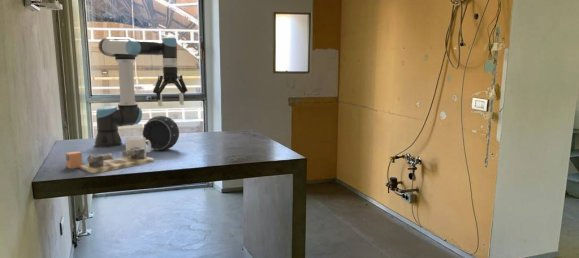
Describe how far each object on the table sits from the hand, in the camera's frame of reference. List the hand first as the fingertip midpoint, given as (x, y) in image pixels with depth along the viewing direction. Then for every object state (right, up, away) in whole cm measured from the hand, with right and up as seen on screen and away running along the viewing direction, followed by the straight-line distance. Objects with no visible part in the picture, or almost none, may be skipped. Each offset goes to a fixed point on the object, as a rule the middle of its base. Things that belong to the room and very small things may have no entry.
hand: (171, 105), depth 239 cm
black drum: (-9, -26, +14) cm, 30 cm away
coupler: (-40, -31, -27) cm, 58 cm away
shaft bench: (-21, -31, -22) cm, 43 cm away
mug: (-17, -29, -3) cm, 33 cm away
